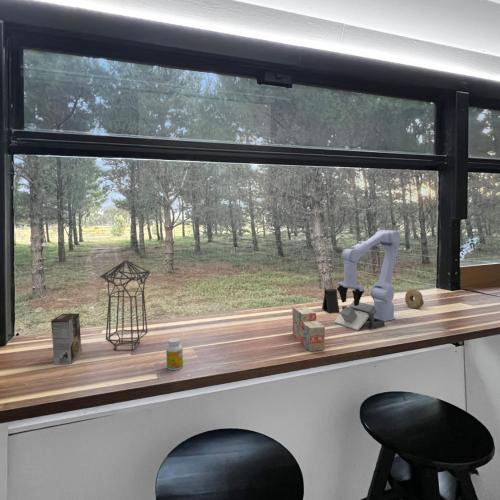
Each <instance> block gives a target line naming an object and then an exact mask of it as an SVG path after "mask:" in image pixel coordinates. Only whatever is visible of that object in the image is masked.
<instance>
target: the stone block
mask: <svg viewBox="0 0 500 500" xmlns="http://www.w3.org/2000/svg"><path fill="white" fill-rule="evenodd" d="M339 313H340V314H341V316H342V317H343V319H344V321H347V322H350V323H352V322H353V321H354V320H355V319H356V317H357V315H356V313H355V311H354V309H353V308H350V307H349V306H347V307H345V308H344V309H343V310H341V312H339ZM340 314H339V315H340Z"/></svg>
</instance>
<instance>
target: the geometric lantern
mask: <svg viewBox="0 0 500 500" xmlns="http://www.w3.org/2000/svg"><path fill="white" fill-rule="evenodd" d="M126 264H127V269H128V271H125V267H126ZM139 269H140V270H143V271H140V270H139ZM118 274H120V277H117V275H118ZM126 274H128V275H130V276H128V275H126ZM150 274H151V271H149V270H147V269H145V268H144V267H141V266H139V265H137V264H136V263H133V262H132V261H129V260H123V261H121V262H120V263H119V264H117V265H115V266H114V267H113V268H111V269H109V270H108V271H106V272H104V273H103V274H101V275H99V278H101V279H104V280H105V281H106V282H107V294H108V295H107V296H108V304H107V318H106V330H105V331H106V332H105V340H106V342H109V344H111V345H113V349H112V350H113V351H114V352H115V351H117V352H118V351H120V352H121V351H122V352H123V351H134V350H136V349H137V347H138V346H139V345H140V343H141V339H142V338H143V337H144V336H146V335H147V334H148V324H147V323H148V321H147V312H146V301H145V286H146V285H145V284H146V281H147V279H148V278H149V277H150ZM136 275H137V276H136ZM123 276H124V277H123ZM109 278H110V279H109ZM143 279H144V280H143ZM115 280H119V282H120V284H119V283H118V284H116V283H115ZM122 280H127V281H125V282H124V283H122ZM132 281H136V282H137V284H138V287H137V290H131V293H133V292H134V293H135V294H134V295H131V294H130V292H129V290H127V286H128V284H129V283H130V282H132ZM139 281H140V283H139ZM110 284H112V285H113V289H112V290H111V291H110ZM141 285H142V287H141ZM119 287H123V288H122V290H120V289H119ZM115 288H116V289H117V290H115ZM139 289H140V290H139ZM114 290H115V291H114ZM121 292H122V295H121V296H120V293H121ZM125 292H126V293H127V295H128V296H127V295H126V296H125ZM137 292H141V293H139V294H137ZM116 293H117V295H113V294H116ZM140 295H141V306H142V307H141V312H142V315H141V316H142V329H139V316H138V315H139V314H138V302H137V297H138V296H140ZM112 298H117V305H116V306H117V308H116V309H117V310H116V326H115V331H114V332H113V333H111V317H112V316H111V315H112V313H111V312H112V310H111V307H112ZM120 298H122V303H121V304H122V305H121V307H122V314H121V315H122V319H121V321H122V323H121V329H119V330H118V325H119V309H120V308H119V307H120ZM125 298H130V299H129V301H130V302H129V303H130V304H129V305H130V329H124V325H125V324H124V323H125V321H124V320H125V317H124V315H125V308H124V307H125ZM132 298H134V306H135V318H136V329H133V305H132V304H133V303H132V302H133V301H132V300H133V299H132ZM118 332H121V337H120V335H119V333H118ZM123 332H130V335H131V336H130V337H123ZM134 332H137V337H133V336H134V335H133V333H134ZM143 332H144V333H143ZM113 335H117V337H118V339H111V337H113ZM130 339H131V340H130ZM114 342H115V343H114ZM117 343H118V344H117ZM136 344H137V345H136ZM118 346H120V347H121V346H123V347H124V346H125V347H126V346H127V347H129V346H130V347H131V349H130V348H129V349H117V348H118Z"/></svg>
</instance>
